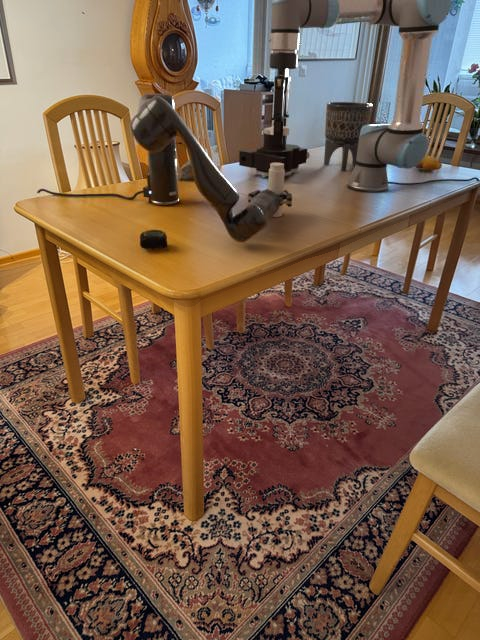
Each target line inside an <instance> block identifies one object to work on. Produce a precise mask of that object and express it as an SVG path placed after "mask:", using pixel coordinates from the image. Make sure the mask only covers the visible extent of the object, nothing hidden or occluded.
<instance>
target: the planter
mask: <svg viewBox="0 0 480 640" xmlns="http://www.w3.org/2000/svg"><path fill="white" fill-rule="evenodd" d="M373 107H374V106H373V104H372V103H367V102H353V101H333V102H327V103H326V109H325V124H324V125H325V126H324V139H325V144H324V156H323V157H324V158H323V165H325V166H328V165H330V163H331V158H332V156H333V154H334V153H335V151H336V150H337V149H340V148H341V150H342V153H341V166H340V170H341V172H345V171H347V167H348V166H347V165H348V159H349V152H350V154H351V157H352V158H351V159H352V160H351V161H352V166H353V167H355V165H356V158H357V150H358V142H359V136H360V131H361V128H362V127H363V126H365V125H370V121H371V116H372V112H373Z"/></svg>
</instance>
